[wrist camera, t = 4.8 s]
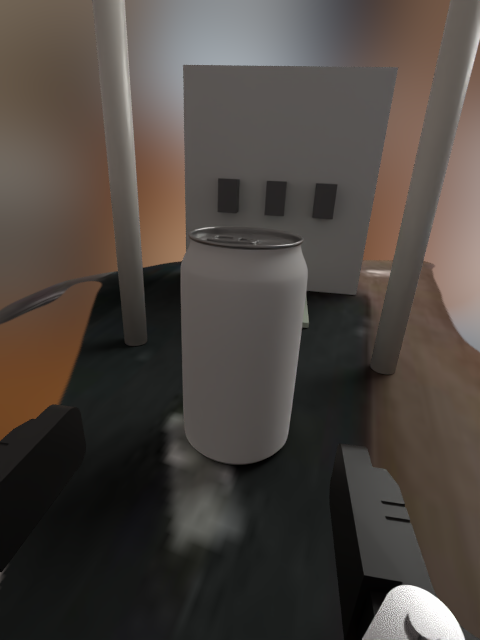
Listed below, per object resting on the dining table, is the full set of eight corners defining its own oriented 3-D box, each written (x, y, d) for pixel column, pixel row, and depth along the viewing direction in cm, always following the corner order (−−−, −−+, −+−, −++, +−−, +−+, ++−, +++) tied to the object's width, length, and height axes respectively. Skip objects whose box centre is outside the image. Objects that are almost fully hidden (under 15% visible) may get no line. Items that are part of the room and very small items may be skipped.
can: (278, 483, 18) (306, 254, 13) (165, 454, 20) (154, 239, 15) (294, 409, 24) (317, 231, 19) (205, 391, 25) (207, 221, 21)
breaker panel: (358, 299, 46) (403, 62, 36) (182, 284, 49) (178, 59, 38) (350, 284, 52) (386, 79, 42) (195, 271, 55) (194, 76, 45)
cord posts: (397, 375, 28) (507, -46, 18) (121, 344, 31) (82, -36, 21) (391, 363, 30) (488, -26, 20) (130, 335, 33) (99, -19, 23)
